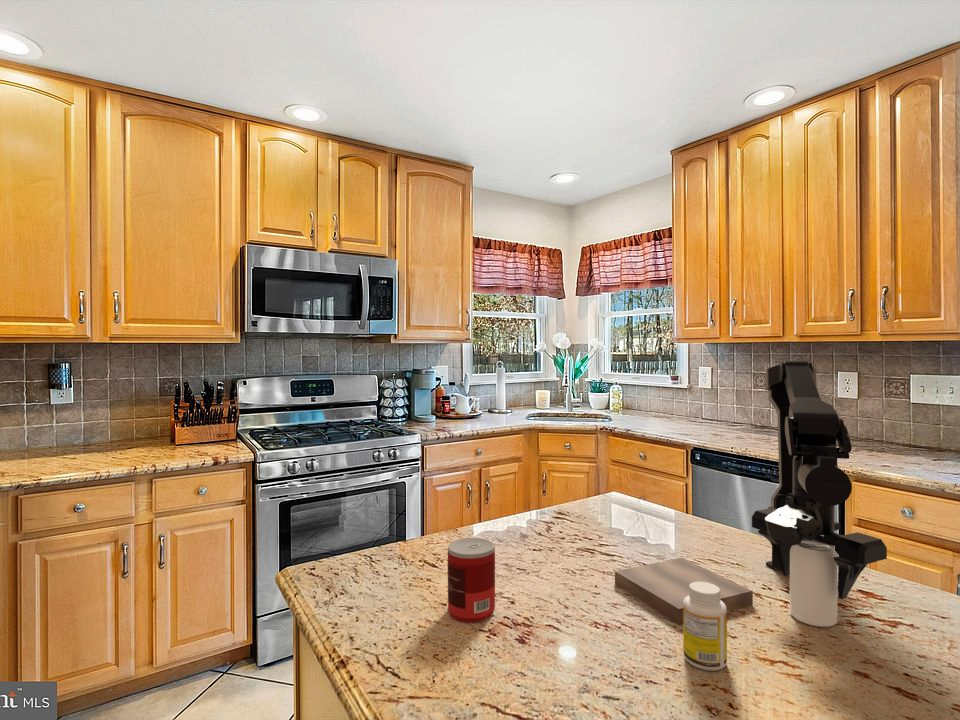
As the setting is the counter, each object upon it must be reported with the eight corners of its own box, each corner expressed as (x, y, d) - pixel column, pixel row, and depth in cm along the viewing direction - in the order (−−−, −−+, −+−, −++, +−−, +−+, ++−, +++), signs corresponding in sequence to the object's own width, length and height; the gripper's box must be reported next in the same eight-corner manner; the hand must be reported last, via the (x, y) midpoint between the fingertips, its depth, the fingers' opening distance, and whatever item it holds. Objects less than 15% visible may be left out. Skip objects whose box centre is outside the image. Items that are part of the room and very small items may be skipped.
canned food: (500, 604, 91) (500, 540, 91) (485, 627, 84) (485, 557, 84) (458, 598, 94) (458, 535, 94) (440, 619, 86) (440, 551, 86)
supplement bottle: (704, 646, 78) (704, 576, 78) (736, 667, 73) (736, 591, 73) (674, 655, 76) (674, 582, 76) (704, 676, 71) (704, 599, 71)
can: (844, 630, 82) (845, 552, 82) (798, 626, 84) (798, 549, 83) (826, 610, 89) (826, 538, 88) (783, 607, 90) (783, 535, 90)
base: (682, 570, 105) (682, 557, 105) (752, 605, 91) (752, 590, 90) (614, 584, 99) (614, 571, 99) (679, 624, 84) (679, 608, 84)
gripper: (728, 481, 91) (727, 573, 91) (839, 510, 74) (838, 623, 74) (774, 475, 96) (774, 562, 96) (889, 501, 78) (888, 608, 79)
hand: (813, 586), depth 86 cm, fingers open, 9 cm apart
